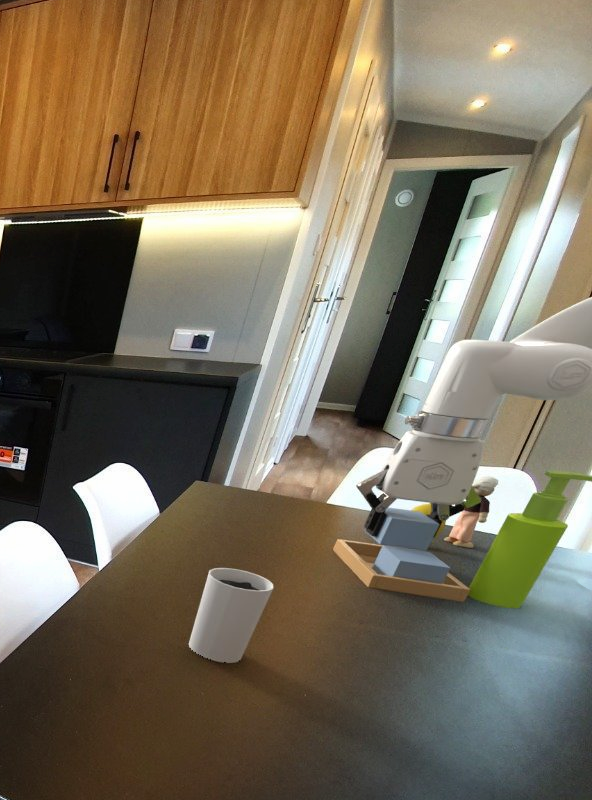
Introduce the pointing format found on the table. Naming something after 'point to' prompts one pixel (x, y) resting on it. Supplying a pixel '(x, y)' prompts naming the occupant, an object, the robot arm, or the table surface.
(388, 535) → the blue-gray block
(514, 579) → the soap dispenser
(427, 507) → the lemon
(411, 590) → the wooden tray
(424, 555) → the blue-grey block
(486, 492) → the grandmother figurine
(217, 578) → the white cup
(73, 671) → the table surface
